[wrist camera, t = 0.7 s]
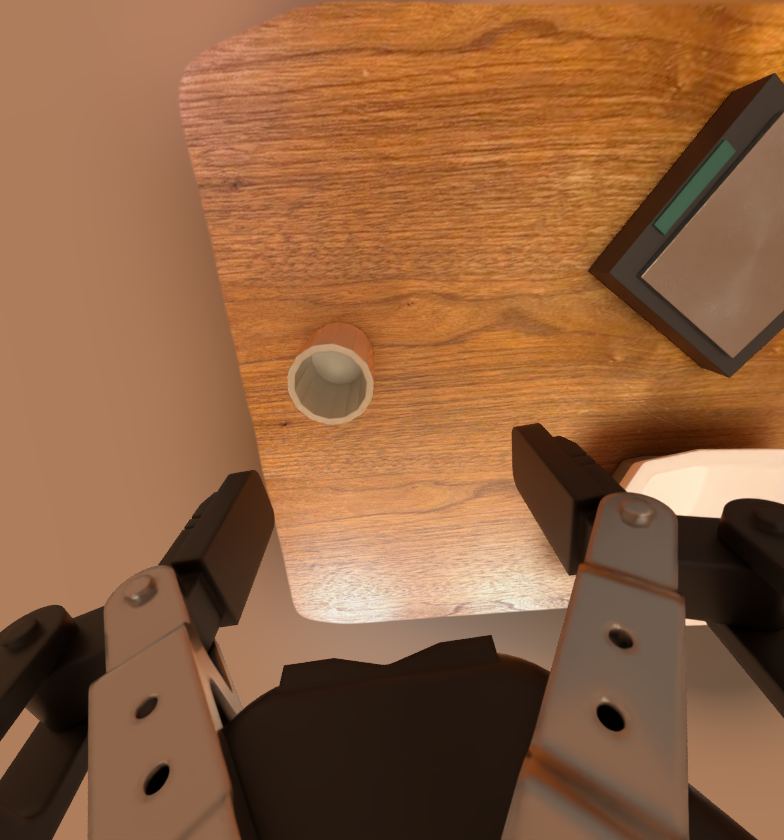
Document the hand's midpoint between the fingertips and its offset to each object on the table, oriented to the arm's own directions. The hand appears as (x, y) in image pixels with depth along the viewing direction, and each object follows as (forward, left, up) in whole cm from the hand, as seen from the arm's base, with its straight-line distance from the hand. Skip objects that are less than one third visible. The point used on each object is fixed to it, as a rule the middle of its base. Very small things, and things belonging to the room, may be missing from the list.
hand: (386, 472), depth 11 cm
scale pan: (+20, +21, -19) cm, 35 cm away
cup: (-2, -4, -23) cm, 23 cm away
